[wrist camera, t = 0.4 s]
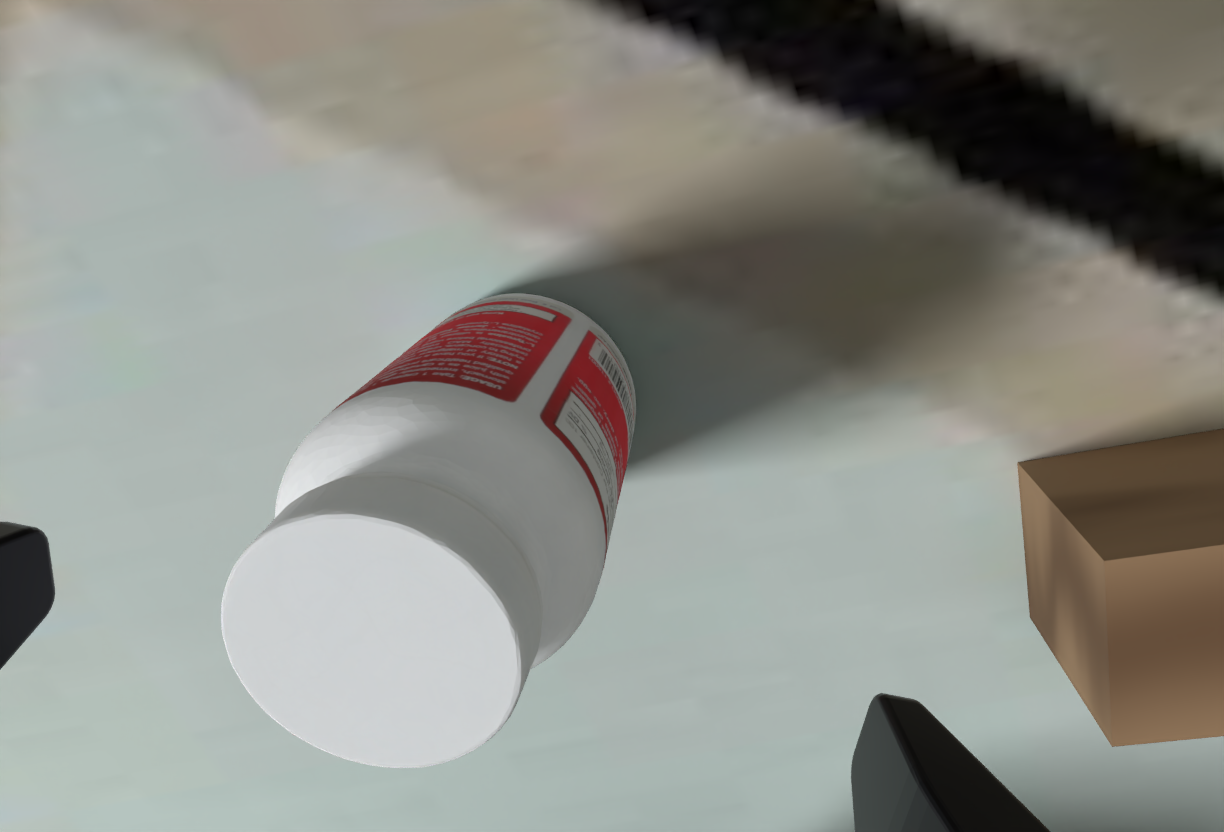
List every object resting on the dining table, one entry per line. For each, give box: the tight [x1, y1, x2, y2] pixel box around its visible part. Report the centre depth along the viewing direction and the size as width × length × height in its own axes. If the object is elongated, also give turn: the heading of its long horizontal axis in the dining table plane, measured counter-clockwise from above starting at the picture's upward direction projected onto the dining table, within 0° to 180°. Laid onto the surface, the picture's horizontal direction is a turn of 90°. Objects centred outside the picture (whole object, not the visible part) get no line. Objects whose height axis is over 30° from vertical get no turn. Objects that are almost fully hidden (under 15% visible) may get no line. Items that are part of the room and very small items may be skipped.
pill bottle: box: [221, 293, 636, 768], centre depth 17 cm, size 6×6×11 cm
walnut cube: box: [1018, 429, 1224, 747], centre depth 19 cm, size 5×5×5 cm
